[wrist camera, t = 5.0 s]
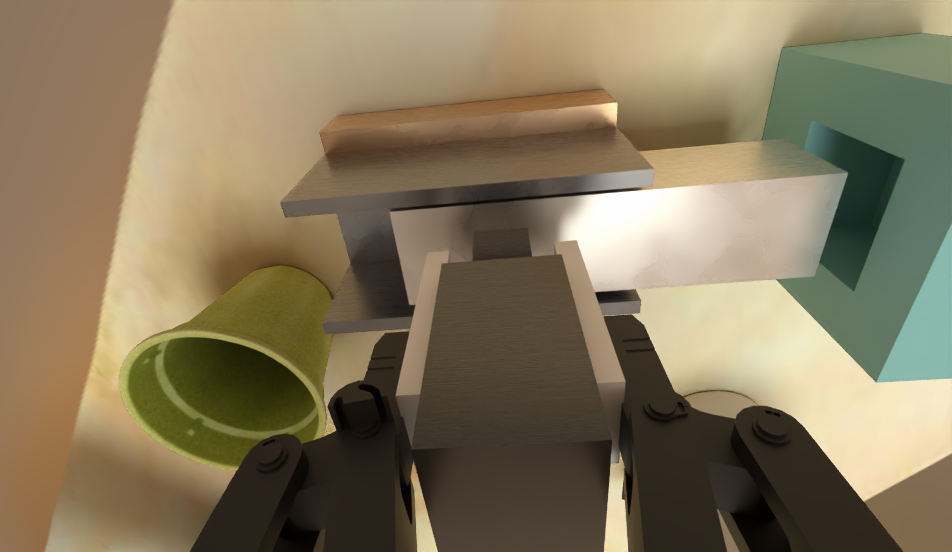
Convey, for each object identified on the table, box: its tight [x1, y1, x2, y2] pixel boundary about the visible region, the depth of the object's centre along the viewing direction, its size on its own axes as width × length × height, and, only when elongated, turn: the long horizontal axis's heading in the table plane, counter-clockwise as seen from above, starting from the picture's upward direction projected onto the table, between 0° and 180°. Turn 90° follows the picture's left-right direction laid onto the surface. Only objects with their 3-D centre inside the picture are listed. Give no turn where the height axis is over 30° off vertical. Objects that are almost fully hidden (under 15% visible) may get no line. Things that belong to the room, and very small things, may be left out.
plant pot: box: [119, 265, 333, 471], centre depth 26 cm, size 9×9×9 cm
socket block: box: [762, 33, 952, 382], centre depth 19 cm, size 6×10×11 cm, turn 6°
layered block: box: [280, 89, 654, 334], centre depth 21 cm, size 13×8×8 cm, turn 96°
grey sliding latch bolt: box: [390, 138, 848, 552], centre depth 15 cm, size 16×4×15 cm, turn 96°
